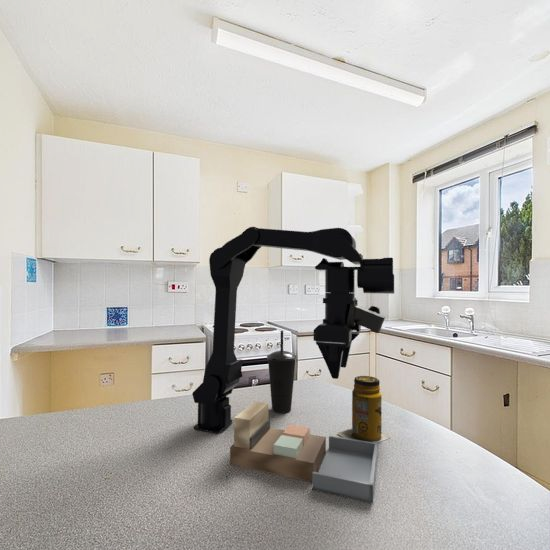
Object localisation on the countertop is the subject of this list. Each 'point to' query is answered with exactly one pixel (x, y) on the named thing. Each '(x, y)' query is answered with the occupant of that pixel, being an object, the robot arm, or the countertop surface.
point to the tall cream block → (251, 425)
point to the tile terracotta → (297, 432)
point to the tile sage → (288, 446)
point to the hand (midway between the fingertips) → (339, 372)
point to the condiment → (366, 411)
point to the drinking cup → (281, 378)
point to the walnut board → (278, 464)
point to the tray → (348, 469)
